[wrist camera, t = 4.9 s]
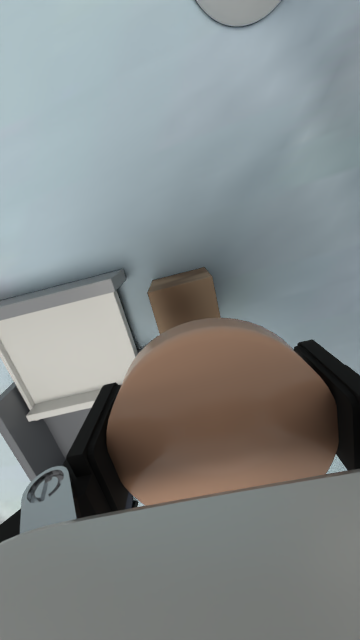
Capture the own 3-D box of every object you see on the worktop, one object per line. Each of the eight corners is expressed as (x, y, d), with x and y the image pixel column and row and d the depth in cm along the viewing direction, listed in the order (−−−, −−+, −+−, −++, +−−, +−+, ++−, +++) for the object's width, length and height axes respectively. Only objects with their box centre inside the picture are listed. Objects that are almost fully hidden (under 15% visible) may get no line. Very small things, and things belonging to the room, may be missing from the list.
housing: (178, 437, 30) (179, 475, 26) (64, 461, 31) (44, 503, 26) (149, 346, 26) (144, 372, 21) (18, 377, 27) (-15, 409, 22)
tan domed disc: (300, 296, 9) (334, 312, 7) (316, 460, 11) (344, 507, 9) (93, 343, 9) (71, 370, 7) (150, 490, 12) (143, 539, 10)
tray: (159, 383, 27) (157, 413, 23) (35, 411, 28) (8, 446, 24) (123, 269, 23) (110, 278, 19) (-23, 306, 24) (-68, 324, 19)
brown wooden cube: (204, 267, 23) (212, 276, 19) (214, 316, 25) (224, 336, 20) (152, 280, 24) (147, 292, 19) (166, 328, 25) (164, 350, 21)
